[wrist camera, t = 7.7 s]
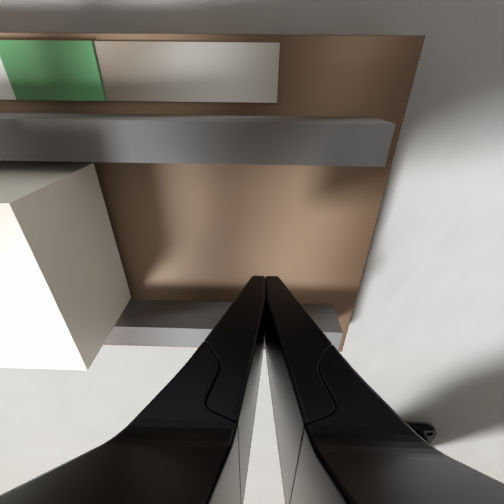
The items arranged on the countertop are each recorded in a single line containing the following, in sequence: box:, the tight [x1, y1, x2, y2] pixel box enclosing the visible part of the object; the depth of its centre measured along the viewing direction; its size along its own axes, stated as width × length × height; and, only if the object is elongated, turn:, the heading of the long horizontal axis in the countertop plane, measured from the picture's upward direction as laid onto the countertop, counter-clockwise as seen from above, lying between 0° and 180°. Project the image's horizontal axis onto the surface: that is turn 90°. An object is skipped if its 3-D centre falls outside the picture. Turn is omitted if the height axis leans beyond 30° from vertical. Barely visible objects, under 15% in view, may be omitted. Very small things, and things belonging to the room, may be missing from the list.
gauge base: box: [0, 33, 425, 351], centre depth 11 cm, size 24×14×6 cm, turn 89°
